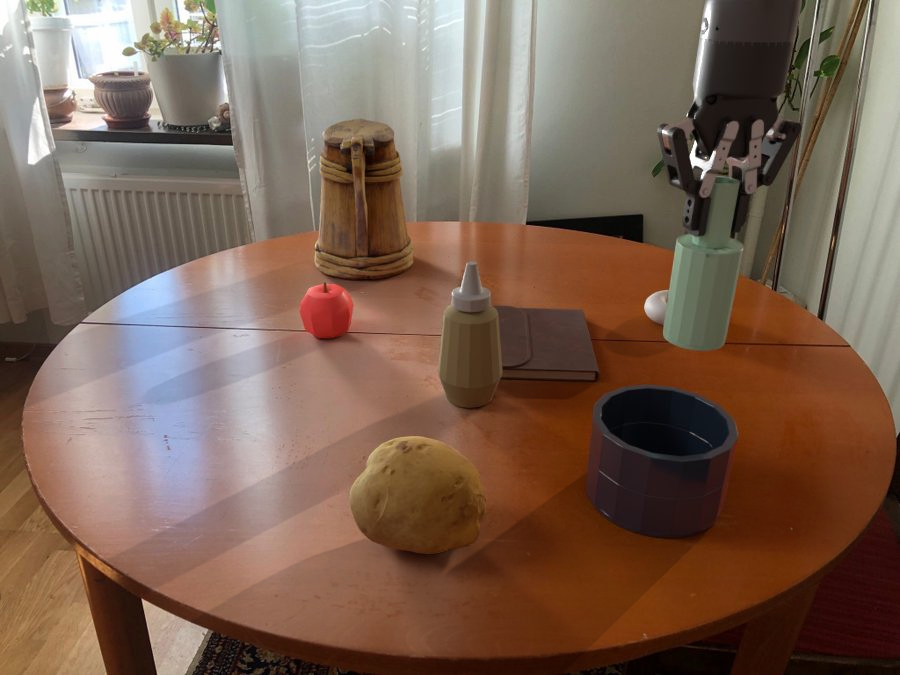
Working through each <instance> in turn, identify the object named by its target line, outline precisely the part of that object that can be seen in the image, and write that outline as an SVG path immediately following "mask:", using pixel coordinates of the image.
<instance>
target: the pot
mask: <svg viewBox="0 0 900 675" xmlns="http://www.w3.org/2000/svg"><path fill="white" fill-rule="evenodd" d="M738 439H739V432H738V428H737V423H736V420H735V419H734V418H733V417H732V415H731V414H729V413H728V412H727V411H726V410H725V409H724V408H723V407H722V406H721V405H719V404H718V403H716V402H714V401H712V400H710V399H708V398H707V397H705V396H703V395H701V394H699V393H695V392H691V391H689V390H685V389H682V388H679V387H674V386H665V385H656V384H637V385H628V386H626V385H625V386H623V387H620V388H616V389H614V390H612V391H611V390H610V391H609V392H606V393H604V394H603V395H602V396H601V397H600V398H599V399H598V400H597V401H596V402H595V403H594V404H593V410H592V420H591V429H590V440H589V449H588V458H587V459H588V460H587V468H586V480H585V491H586V495H587V497H588V500H589V501H590V503H591V505H592V506H593V507H594V509H596V511H597V512H598V513H599V514H600V515H601V516H603V517H604V518H605V519H607V520H608V521H609V522H611V523H612V524H614V525H616V526H618V527H620V528H622V529H624V530H627V531H630V532H632V533H635V534H639V535H642V536H645V537H652V538H660V539H679V538H687V537H692V536H695V535H698V534H701V533H703V532H705V531H707V530H708V529H710V528H711V527H712V526H714V525H715V524H716V523H717V522H718V520H719V519H720V516H721V514H722V511H723V509H724V506H725V502H726V497H727V492H728V487H729V483H730V477H731V473H732V469H733V463H734V459H735V455H736V449H737V446H738V445H737V444H738Z"/></svg>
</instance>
